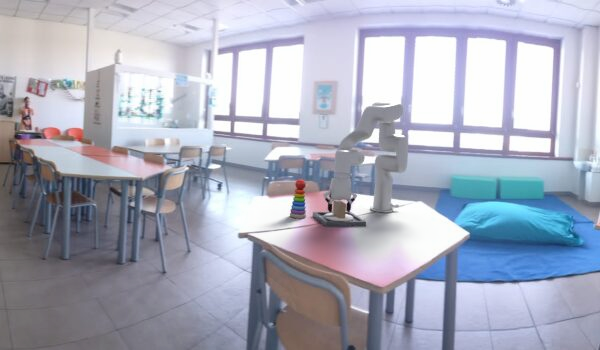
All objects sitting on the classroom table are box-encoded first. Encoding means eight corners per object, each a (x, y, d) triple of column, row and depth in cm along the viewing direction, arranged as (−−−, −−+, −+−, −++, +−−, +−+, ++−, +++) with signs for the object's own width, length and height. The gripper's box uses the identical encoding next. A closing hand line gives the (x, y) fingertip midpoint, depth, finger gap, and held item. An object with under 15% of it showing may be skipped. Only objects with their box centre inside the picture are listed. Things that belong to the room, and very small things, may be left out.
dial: (346, 214, 199) (347, 199, 198) (357, 221, 186) (359, 205, 185) (320, 214, 195) (321, 198, 194) (329, 222, 182) (330, 205, 181)
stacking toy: (294, 219, 189) (296, 180, 187) (287, 215, 196) (289, 178, 194) (308, 218, 193) (310, 180, 190) (301, 214, 200) (303, 177, 197)
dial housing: (349, 215, 203) (350, 211, 203) (366, 226, 184) (366, 221, 184) (312, 216, 198) (312, 211, 197) (325, 226, 179) (325, 221, 178)
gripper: (355, 175, 194) (352, 209, 196) (321, 174, 189) (319, 209, 191) (361, 177, 187) (358, 213, 189) (326, 176, 182) (324, 213, 184)
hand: (339, 211), depth 190 cm, fingers open, 8 cm apart
